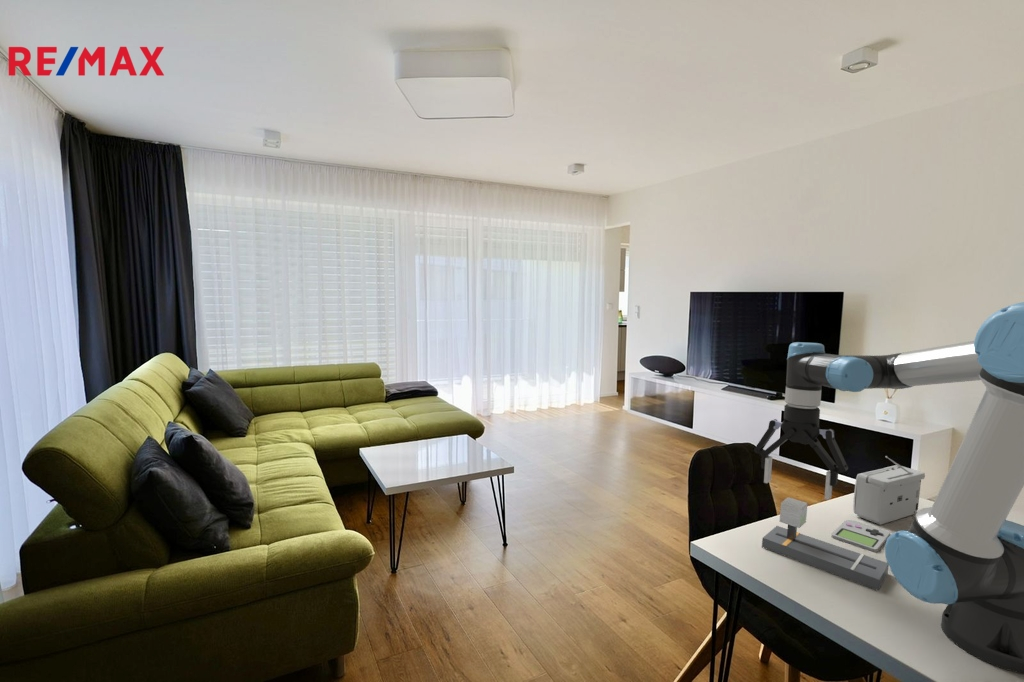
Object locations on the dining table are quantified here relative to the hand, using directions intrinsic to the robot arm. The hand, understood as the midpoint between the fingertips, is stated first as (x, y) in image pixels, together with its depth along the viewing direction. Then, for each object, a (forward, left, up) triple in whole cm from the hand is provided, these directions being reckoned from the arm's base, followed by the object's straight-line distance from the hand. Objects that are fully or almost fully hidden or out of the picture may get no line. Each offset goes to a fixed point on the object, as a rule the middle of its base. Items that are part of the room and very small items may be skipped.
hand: (796, 489), depth 121 cm
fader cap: (0, 0, -13) cm, 13 cm away
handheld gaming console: (+5, -24, -16) cm, 29 cm away
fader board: (-5, -4, -16) cm, 17 cm away
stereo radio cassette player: (+15, -43, -16) cm, 48 cm away
